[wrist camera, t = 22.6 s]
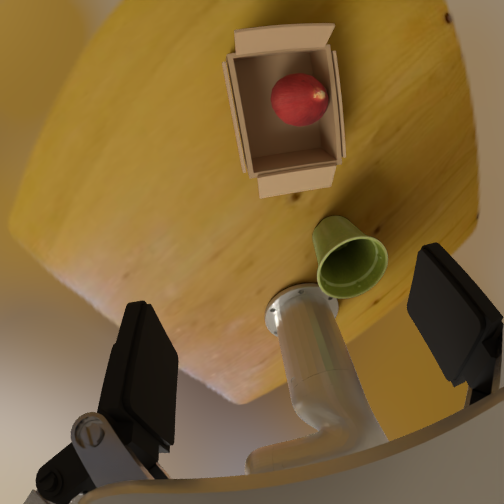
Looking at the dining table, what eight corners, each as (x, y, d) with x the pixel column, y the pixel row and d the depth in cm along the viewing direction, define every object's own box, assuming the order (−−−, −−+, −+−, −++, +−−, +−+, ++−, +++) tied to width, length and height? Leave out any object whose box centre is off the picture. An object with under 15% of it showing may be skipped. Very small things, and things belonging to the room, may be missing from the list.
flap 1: (335, 25, 19) (334, 23, 19) (234, 32, 19) (234, 30, 19) (324, 47, 23) (323, 44, 23) (236, 55, 23) (235, 53, 23)
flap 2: (259, 198, 34) (259, 196, 34) (331, 186, 34) (330, 184, 34) (257, 178, 30) (257, 175, 30) (336, 165, 30) (335, 163, 30)
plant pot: (361, 253, 45) (385, 289, 37) (304, 267, 45) (319, 306, 38) (361, 198, 39) (390, 229, 32) (297, 211, 40) (314, 246, 33)
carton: (328, 149, 35) (346, 163, 30) (240, 163, 35) (244, 179, 30) (316, 48, 28) (335, 44, 23) (220, 59, 28) (220, 55, 23)
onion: (297, 79, 31) (341, 64, 24) (307, 124, 33) (353, 119, 26) (252, 84, 29) (291, 65, 22) (264, 132, 31) (306, 126, 24)
